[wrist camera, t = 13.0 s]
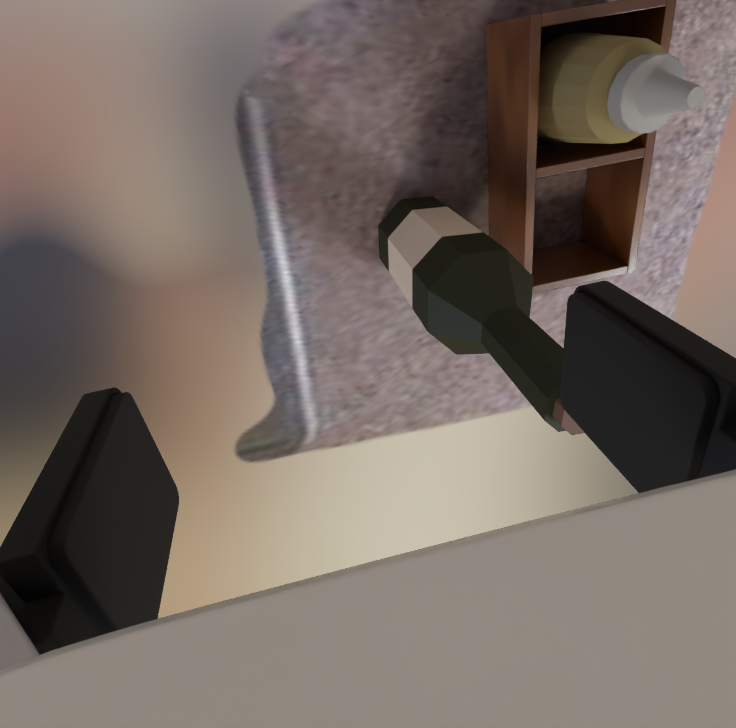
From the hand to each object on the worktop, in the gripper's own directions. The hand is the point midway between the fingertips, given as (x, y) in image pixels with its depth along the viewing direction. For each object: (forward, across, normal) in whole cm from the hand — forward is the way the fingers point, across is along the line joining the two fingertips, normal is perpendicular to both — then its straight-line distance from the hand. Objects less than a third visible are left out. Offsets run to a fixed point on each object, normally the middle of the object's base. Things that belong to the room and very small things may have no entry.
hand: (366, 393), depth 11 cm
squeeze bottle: (+38, -24, -1) cm, 45 cm away
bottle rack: (+38, -24, +4) cm, 45 cm away
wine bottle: (+38, -11, +10) cm, 41 cm away
